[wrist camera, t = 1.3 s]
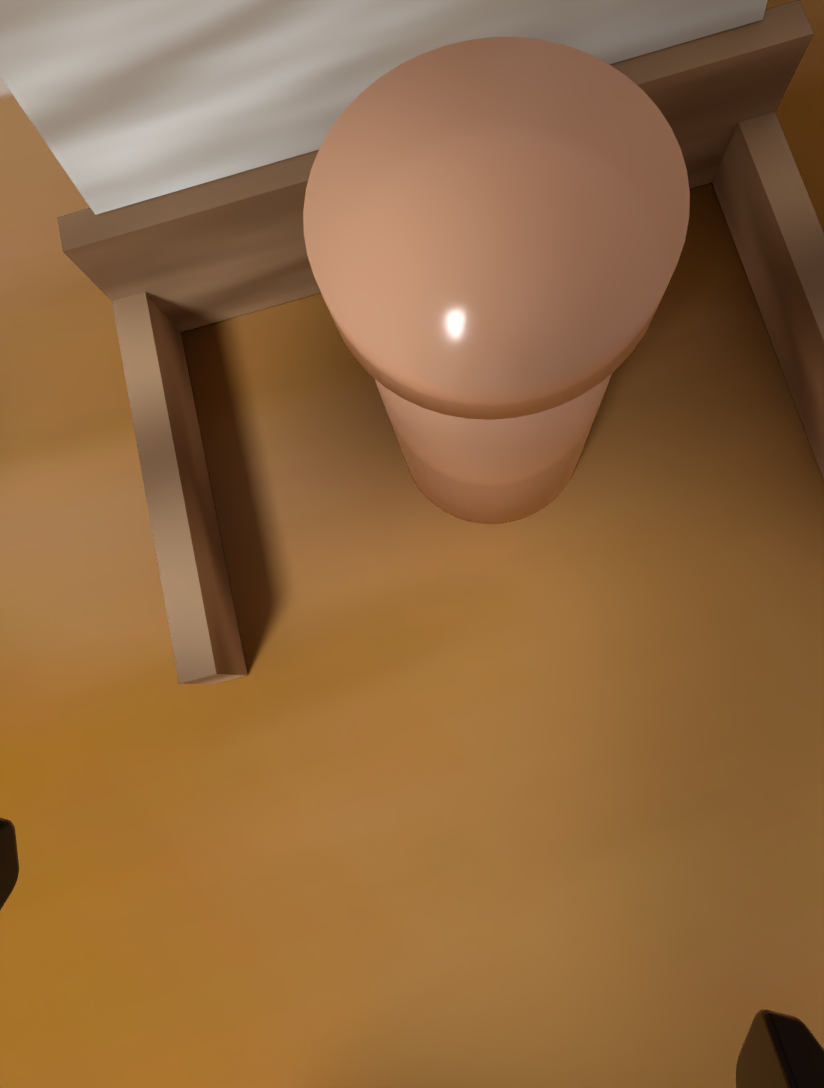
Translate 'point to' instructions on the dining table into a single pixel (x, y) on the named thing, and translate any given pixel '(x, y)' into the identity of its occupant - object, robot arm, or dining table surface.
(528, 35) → the wooden frame armchair
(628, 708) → the dining table surface
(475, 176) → the mushroom-shaped peg
